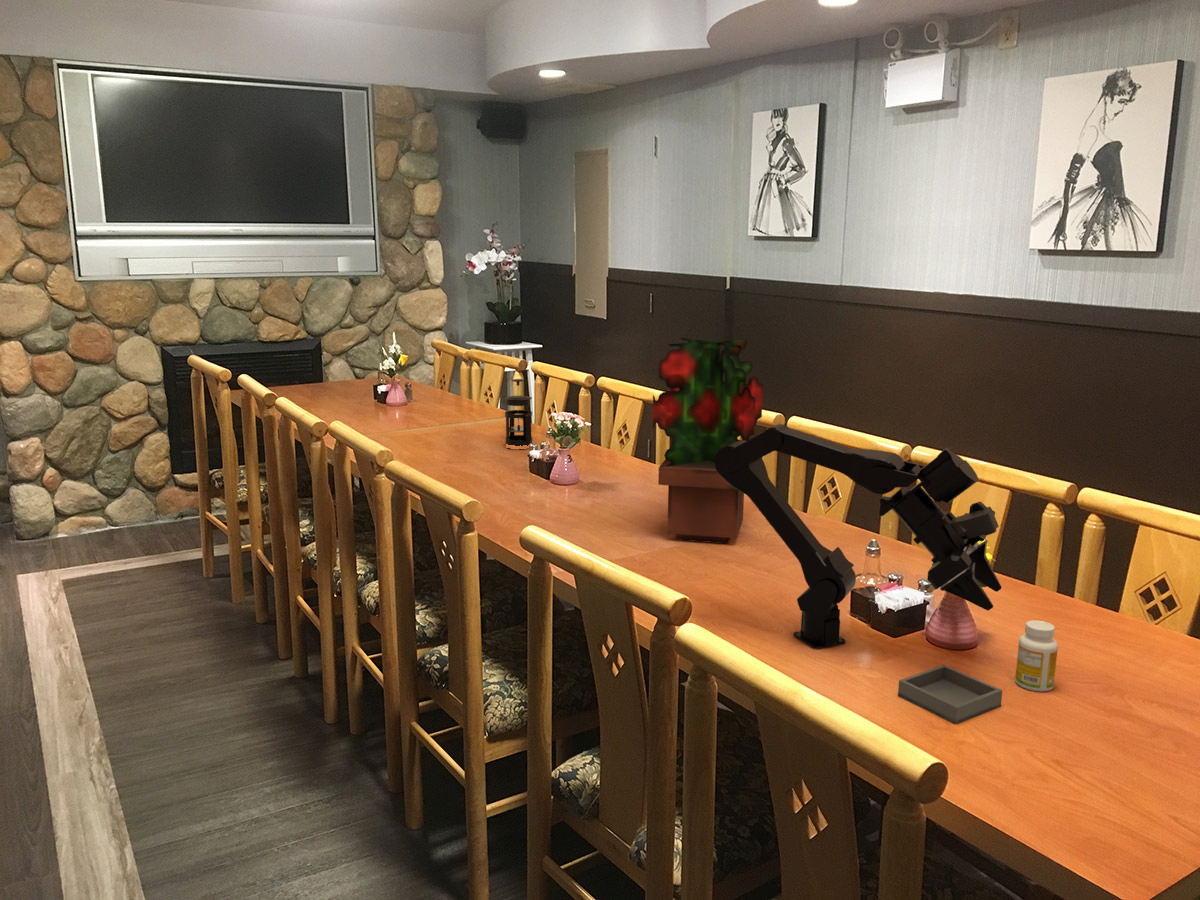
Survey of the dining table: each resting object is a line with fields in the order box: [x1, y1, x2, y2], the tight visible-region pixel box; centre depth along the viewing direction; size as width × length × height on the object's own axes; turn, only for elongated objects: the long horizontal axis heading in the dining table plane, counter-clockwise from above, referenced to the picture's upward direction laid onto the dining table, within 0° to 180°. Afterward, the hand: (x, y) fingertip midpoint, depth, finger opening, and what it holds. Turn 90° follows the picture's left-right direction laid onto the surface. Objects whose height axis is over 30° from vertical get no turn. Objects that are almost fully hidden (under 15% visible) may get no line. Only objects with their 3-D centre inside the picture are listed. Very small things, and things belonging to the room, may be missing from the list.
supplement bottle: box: [1014, 619, 1059, 693], centre depth 143 cm, size 5×5×10 cm
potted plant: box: [652, 337, 764, 544], centre depth 216 cm, size 22×22×45 cm
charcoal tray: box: [897, 664, 1003, 725], centre depth 139 cm, size 10×10×2 cm
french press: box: [504, 378, 533, 446], centre depth 314 cm, size 12×9×23 cm
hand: (995, 599), depth 145 cm, fingers open, 9 cm apart
